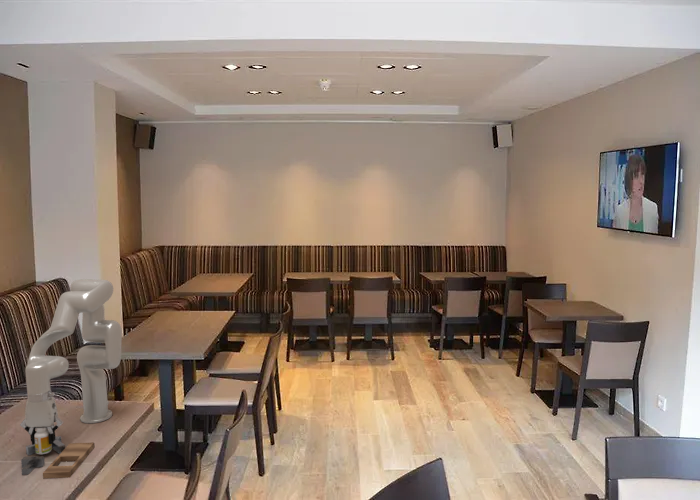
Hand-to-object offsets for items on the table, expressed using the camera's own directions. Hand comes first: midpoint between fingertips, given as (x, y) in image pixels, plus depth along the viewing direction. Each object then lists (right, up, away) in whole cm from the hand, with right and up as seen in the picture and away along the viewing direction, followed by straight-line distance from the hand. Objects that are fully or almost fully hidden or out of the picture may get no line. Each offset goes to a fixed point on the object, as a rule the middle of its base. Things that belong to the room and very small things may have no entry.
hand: (43, 442), depth 214 cm
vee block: (0, -4, +5) cm, 7 cm away
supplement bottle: (0, -4, 0) cm, 4 cm away
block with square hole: (+12, -5, -5) cm, 14 cm away
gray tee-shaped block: (+1, -6, -10) cm, 12 cm away
